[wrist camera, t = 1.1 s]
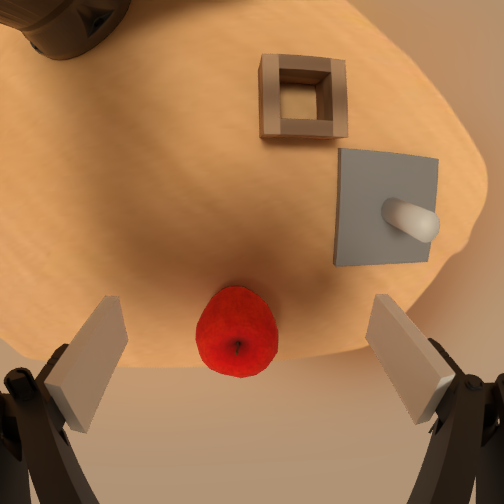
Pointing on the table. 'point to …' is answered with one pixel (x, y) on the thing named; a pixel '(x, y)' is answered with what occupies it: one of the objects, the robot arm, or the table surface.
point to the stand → (384, 208)
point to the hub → (327, 96)
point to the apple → (237, 333)
